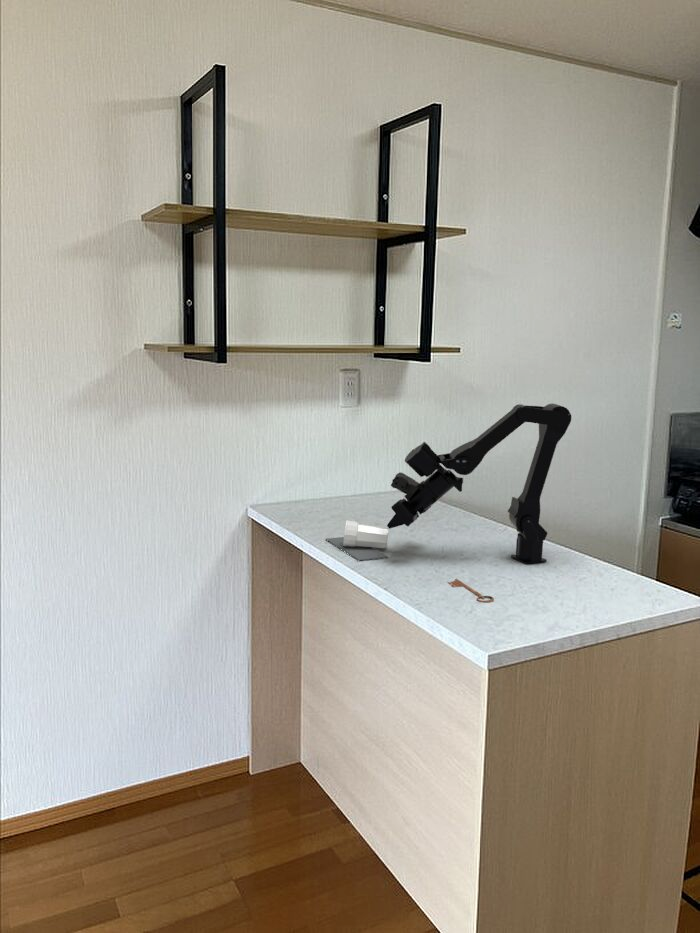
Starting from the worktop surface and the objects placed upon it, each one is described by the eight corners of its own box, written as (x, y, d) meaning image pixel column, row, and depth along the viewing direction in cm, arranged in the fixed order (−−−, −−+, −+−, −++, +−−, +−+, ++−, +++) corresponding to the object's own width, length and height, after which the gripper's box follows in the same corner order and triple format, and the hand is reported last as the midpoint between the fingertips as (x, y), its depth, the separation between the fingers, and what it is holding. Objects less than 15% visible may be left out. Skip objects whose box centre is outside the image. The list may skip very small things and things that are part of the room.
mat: (387, 558, 205) (388, 556, 205) (358, 561, 201) (358, 559, 201) (352, 537, 222) (352, 536, 222) (325, 540, 219) (325, 538, 219)
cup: (387, 529, 216) (345, 524, 216) (389, 522, 210) (346, 516, 210) (385, 554, 213) (342, 549, 213) (387, 547, 207) (343, 541, 207)
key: (441, 585, 188) (472, 606, 174) (440, 581, 188) (472, 602, 174) (463, 580, 190) (496, 602, 176) (463, 577, 190) (496, 598, 176)
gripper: (421, 457, 212) (378, 495, 218) (401, 469, 195) (355, 510, 201) (450, 491, 211) (406, 527, 217) (432, 506, 194) (385, 545, 200)
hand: (388, 526), depth 209 cm, fingers closed
